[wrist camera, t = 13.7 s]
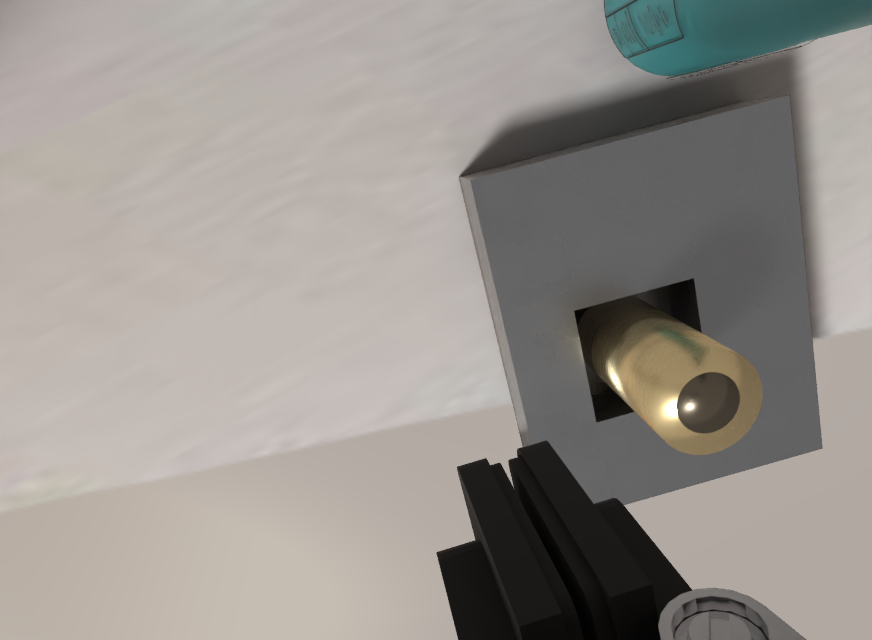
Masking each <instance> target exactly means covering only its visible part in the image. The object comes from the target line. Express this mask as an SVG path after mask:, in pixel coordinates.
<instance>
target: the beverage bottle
mask: <svg viewBox="0 0 872 640" xmlns="http://www.w3.org/2000/svg"><path fill="white" fill-rule="evenodd" d="M604 9H605V17H606V22H607V26H608V29H609V32H610V35H611V37H612V39H613V41H614V43H615V45H616V46H617V48H618V50H619V51H620V52H621V54H622V55H623V56H624V57H625V58H627V59H628V60H629V61H630V62H631V63H633V64H634V65H635V66H637V67H639V68H641V69H643V70H645V71H647V72H650V73H653V74H657V75H662V76H674V77H676V76H681V75H686V74H690V73H694V72H698V71H702V70H705V69H709V68H713V67H717V66H721V65H724V64H728V63H732V62H738V63H739V62H741V63H743V61H739V60H743V59H747V58H751V57H755V56H758V55H762V54H766V53H770V52H773V51H777V50H781V49H784V48H787V47H790V46H793V45H797V44H799V43H802V42H806V41H810V40H813V41H814V39H815V40H816V39H818V38H821V37H825V36H829V35H833V34H837V33H841V32H845V31H849V30H852V29H856V28H860V27H864V26H868V25H872V0H604ZM811 42H812V41H811ZM809 43H810V42H809ZM807 44H808V43H807ZM805 45H806V44H805ZM800 47H802V46H800ZM797 48H798V47H796V49H797ZM792 49H794V48H792ZM788 50H790V49H788ZM794 50H795V49H794ZM784 51H786V50H784ZM780 52H782V51H780ZM789 52H790V51H789ZM777 53H778V52H777ZM786 53H787V52H786ZM773 54H774V53H773ZM769 55H770V54H769ZM765 56H766V55H765ZM761 57H763V56H761ZM773 57H774V56H773ZM757 58H759V57H757ZM753 59H755V58H753ZM749 60H750V61H752V60H751V59H749ZM746 61H747V60H746ZM753 62H754V61H753ZM749 63H750V62H749ZM744 64H745V62H744ZM730 65H731V64H730ZM734 65H735V66H736V65H738V64H737V63H736V64H735V63H734ZM726 66H728V65H726ZM732 67H733V65H732ZM718 68H720V67H718ZM722 68H724V69H725V67H724V66H722ZM726 68H727V67H726ZM728 68H730V67H728ZM715 69H716V68H715ZM709 70H710V69H709ZM711 70H712V69H711ZM718 70H719V69H718ZM721 70H722V69H721ZM714 71H715V70H714ZM714 71H712V72H714ZM705 72H706V71H705ZM703 73H704V72H703ZM708 73H710V72H708ZM698 74H699V73H698ZM700 74H702V73H700ZM704 74H706V73H704ZM697 76H698V75H697ZM687 77H688V76H687ZM689 77H692V76H689ZM689 77H688V78H689ZM670 78H672V77H670ZM680 78H685V77H680ZM667 79H668V78H667ZM672 80H674V79H672Z"/></svg>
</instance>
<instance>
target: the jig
mask: <svg viewBox="0 0 872 640" xmlns="http://www.w3.org/2000/svg"><path fill="white" fill-rule="evenodd" d="M459 180H460V185H461V189H462V193H463V197H464V201H465V206H466V210H467V214H468V218H469V223H470V227H471V231H472V235H473V239H474V244H475V248H476V252H477V256H478V260H479V265H480V269H481V273H482V277H483V281H484V286H485V290H486V294H487V298H488V302H489V307H490V311H491V315H492V319H493V323H494V328H495V332H496V336H497V340H498V344H499V349H500V353H501V357H502V361H503V365H504V370H505V374H506V378H507V382H508V387H509V391H510V395H511V399H512V403H513V408H514V411H515V416H516V420H517V424H518V429H519V433H520V437H521V441H522V445H523V447H525V446H529V445H532V444H535V443H539V442H542V441H545V440H547V441H548V442H549V443H550V445H551V446H552V447H553V449H554V450H555V451H556V453H557V454H558V456H559V457H560V458H561V460H562V461H563V462H564V464H565V465H566V467H567V468H568V469H569V471H570V472H571V473H572V475H573V476H574V477H575V479H576V480H577V482H578V483H579V484H580V486H581V487H582V488H583V490H584V491H585V493H586V494H587V495H588V497H589V498H590V499H591V501H592V502H593V504H595V503H598V502H601V501H605V500H608V499H611V498H617V499H618V500H619V501H620V502H621V503H622V504H623V505H626V504H629V503H632V502H636V501H640V500H643V499H647V498H650V497H654V496H657V495H661V494H664V493H668V492H671V491H675V490H678V489H682V488H685V487H689V486H692V485H696V484H699V483H703V482H707V481H710V480H714V479H717V478H720V477H724V476H728V475H731V474H735V473H738V472H742V471H745V470H748V469H752V468H755V467H759V466H762V465H766V464H769V463H773V462H777V461H780V460H784V459H787V458H790V457H794V456H798V455H801V454H804V453H808V452H812V451H815V450H818V449H822V438H821V428H820V417H819V406H818V395H817V384H816V373H815V363H814V352H813V341H812V330H811V319H810V309H809V298H808V287H807V276H806V266H805V255H804V244H803V233H802V223H801V212H800V201H799V190H798V180H797V169H796V158H795V147H794V137H793V126H792V115H791V104H790V95H787V96H779V97H772V98H764V99H757V100H750V101H743V102H739V103H735V104H731V105H728V106H724V107H720V108H716V109H712V110H709V111H705V112H701V113H697V114H694V115H690V116H686V117H682V118H679V119H675V120H671V121H667V122H664V123H660V124H656V125H652V126H649V127H645V128H641V129H637V130H634V131H630V132H626V133H622V134H619V135H615V136H611V137H607V138H603V139H600V140H596V141H592V142H588V143H585V144H581V145H577V146H573V147H570V148H566V149H562V150H558V151H555V152H551V153H547V154H543V155H540V156H536V157H532V158H528V159H525V160H521V161H517V162H513V163H510V164H506V165H502V166H498V167H495V168H491V169H487V170H483V171H479V172H476V173H472V174H468V175H464V176H461V177H459ZM630 295H632V296H635V297H637V298H639V299H641V300H643V301H644V302H646V303H648V304H650V305H652V306H654V307H655V308H657V309H659V310H661V311H663V312H664V313H666V314H668V315H670V316H672V317H673V318H675V319H677V320H679V321H681V322H682V323H684V324H686V325H688V326H690V327H691V328H693V329H695V330H697V331H699V332H701V333H702V334H704V335H706V336H708V337H710V338H711V339H713V340H715V341H717V342H719V343H720V344H722V345H724V346H726V347H728V348H729V349H731V350H733V351H735V352H737V353H738V354H740V355H742V356H743V357H745V358H746V359H747V360H748V361H749V362H750V363H752V365H753V366H754V367H755V369H756V371H757V372H758V374H759V377H760V380H761V384H762V403H761V408H760V411H759V414H758V416H757V418H756V420H755V422H754V424H753V425H752V427H751V428H750V429H749V431H748V432H747V433H746V434H745V435H744V436H743V437H742V438H741V439H740V440H739V441H737V442H736V443H735V444H733V445H731V446H730V447H728V448H726V449H724V450H722V451H719V452H716V453H712V454H707V455H692V454H687V453H683V452H680V451H678V450H676V449H674V448H673V447H671V446H670V445H669V444H667V443H666V442H665V441H664V440H663V439H662V438H661V437H660V436H659V435H658V434H657V433H656V432H655V431H654V430H653V429H652V428H651V427H650V426H649V425H648V424H647V423H646V422H645V421H644V420H643V419H642V418H641V417H640V416H639V415H638V414H637V413H636V412H635V411H634V410H633V409H632V408H631V407H630V406H629V405H628V404H627V403H626V402H625V401H624V400H623V399H622V398H621V397H620V396H619V395H618V394H617V393H616V392H615V391H614V390H613V389H612V388H611V387H610V386H609V385H608V384H606V383H605V382H604V381H603V380H602V379H601V378H600V377H599V376H598V375H597V374H596V373H595V372H594V371H593V370H592V369H591V368H590V367H589V366H588V365H587V364H586V363H585V361H584V358H583V353H582V348H581V343H580V338H579V333H578V325H579V322H580V320H581V318H582V316H583V315H584V313H585V312H586V311H587V310H588V308H589V307H590V306H594V305H598V304H601V303H605V302H609V301H612V300H616V299H619V298H623V297H627V296H630Z"/></svg>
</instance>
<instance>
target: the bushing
mask: <svg viewBox="0 0 872 640" xmlns="http://www.w3.org/2000/svg"><path fill="white" fill-rule="evenodd" d="M578 333H579V338H580V343H581V348H582V353H583V358H584V361H585V363H586V364H587V365H588V366H589V367H590V368H591V369H592V370H593V371H594V372H595V373H596V374H597V375H598V376H599V377H600V378H601V379H602V380H603V381H604V382H605V383H606V384H608V385H609V386H610V387H611V388H612V389H613V390H614V391H615V392H616V393H617V394H618V395H619V396H620V397H621V398H622V399H623V400H624V401H625V402H626V403H627V404H628V405H629V406H630V407H631V408H632V409H633V410H634V411H635V412H636V413H637V414H638V415H639V416H640V417H641V418H642V419H643V420H644V421H645V422H646V423H647V424H648V425H649V426H650V427H651V428H652V429H653V430H654V431H655V432H656V433H657V434H658V435H659V436H660V437H661V438H662V439H663V440H664V441H665V442H666V443H667V444H669V445H670V446H671V447H673V448H674V449H676V450H678V451H680V452H683V453H687V454H692V455H707V454H712V453H716V452H719V451H722V450H724V449H726V448H728V447H730V446H731V445H733V444H735V443H736V442H737V441H739V440H740V439H741V438H742V437H743V436H744V435H745V434H746V433H747V432H748V431H749V429H750V428H751V427H752V425H753V424H754V422H755V420H756V418H757V416H758V414H759V411H760V408H761V403H762V384H761V380H760V377H759V374H758V372H757V371H756V369H755V367H754V366H753V365H752V363H750V362H749V361H748V360H747V359H746V358H745V357H743V356H742V355H740V354H738V353H737V352H735V351H733V350H731V349H729V348H728V347H726V346H724V345H722V344H720V343H719V342H717V341H715V340H713V339H711V338H710V337H708V336H706V335H704V334H702V333H701V332H699V331H697V330H695V329H693V328H691V327H690V326H688V325H686V324H684V323H682V322H681V321H679V320H677V319H675V318H673V317H672V316H670V315H668V314H666V313H664V312H663V311H661V310H659V309H657V308H655V307H654V306H652V305H650V304H648V303H646V302H644V301H643V300H641V299H639V298H637V297H635V296H632V295H630V296H627V297H623V298H619V299H616V300H612V301H609V302H605V303H601V304H598V305H594V306H590V307H589V308H588V310H587V311H586V312H585V313H584V315H583V316H582V318H581V320H580V322H579V325H578Z"/></svg>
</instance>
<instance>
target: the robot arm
mask: <svg viewBox="0 0 872 640" xmlns="http://www.w3.org/2000/svg"><path fill="white" fill-rule="evenodd" d="M517 456H518V457H517V458H514V459H511V460H509V468H510V472H511V476H512V481H513V485H514V488H513V486H512V484H511V482H510V480H509V478H508V477H507V475H506V473H505V471H504V469H503V467H502V465H501V464H500V463H497V464H494V465H489V462H488V460H487V459H486V458H485V459H482V460H478V461H475V462H472V463H468V464H465V465H462V466H458V467H457V470H458V474H459V478H460V482H461V486H462V490H463V494H464V498H465V501H466V505H467V509H468V513H469V517H470V520H471V524H472V528H473V532H474V536H475V541H472V542H469V543H465V544H462V545H459V546H456V547H452V548H449V549H446V550H443V551H439V552H437V557H438V561H439V565H440V569H441V572H442V576H443V580H444V584H445V588H446V592H447V596H448V600H449V604H450V608H451V612H452V616H453V620H454V624H455V628H456V632H457V636H458V640H806V639H805V638H804V637H803V636H801V635H800V634H799V633H798V632H796V631H795V630H794V629H792V628H791V627H790V626H789V625H788V624H787V623H785V622H784V621H783V620H782V619H780V618H779V617H778V616H777V615H775V614H774V613H773V612H772V611H770V610H769V609H768V608H767V607H766V606H764V605H763V604H761V603H759V602H758V601H756V600H755V599H753V598H751V597H750V596H747V595H744V594H741V593H738V592H735V591H733V590H726V589H719V588H705V589H695V590H692V589H691V588H690V587H689V585H688V584H687V583H686V582H685V580H684V579H683V578H682V577H681V576H680V574H679V573H678V572H677V571H676V569H675V568H674V567H673V566H672V564H671V563H670V562H669V561H668V560H667V559H666V557H665V556H664V555H663V553H662V552H661V551H660V550H659V548H658V547H657V546H656V545H655V543H654V542H653V541H652V540H651V539H650V537H649V536H648V535H647V534H646V532H645V531H644V530H643V529H642V528H641V526H640V525H639V524H638V523H637V521H636V520H635V519H634V518H633V516H632V515H631V514H630V513H629V512H628V510H627V509H626V508H625V506H624V505H623V504H622V503H621V502H620V501H619V500H618V499H617V498H611V499H608V500H605V501H601V502H598V503H595V504H593V502H592V501H591V499H590V498H589V497H588V495H587V494H586V493H585V491H584V490H583V488H582V487H581V486H580V484H579V483H578V482H577V480H576V479H575V477H574V476H573V475H572V473H571V472H570V471H569V469H568V468H567V467H566V465H565V464H564V462H563V461H562V460H561V458H560V457H559V456H558V454H557V453H556V451H555V450H554V449H553V447H552V446H551V445H550V443H549V442H548V441H547V440H545V441H542V442H539V443H535V444H532V445H529V446H525V447H522V448H519V449H518V450H517ZM514 489H515V490H514Z"/></svg>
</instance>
